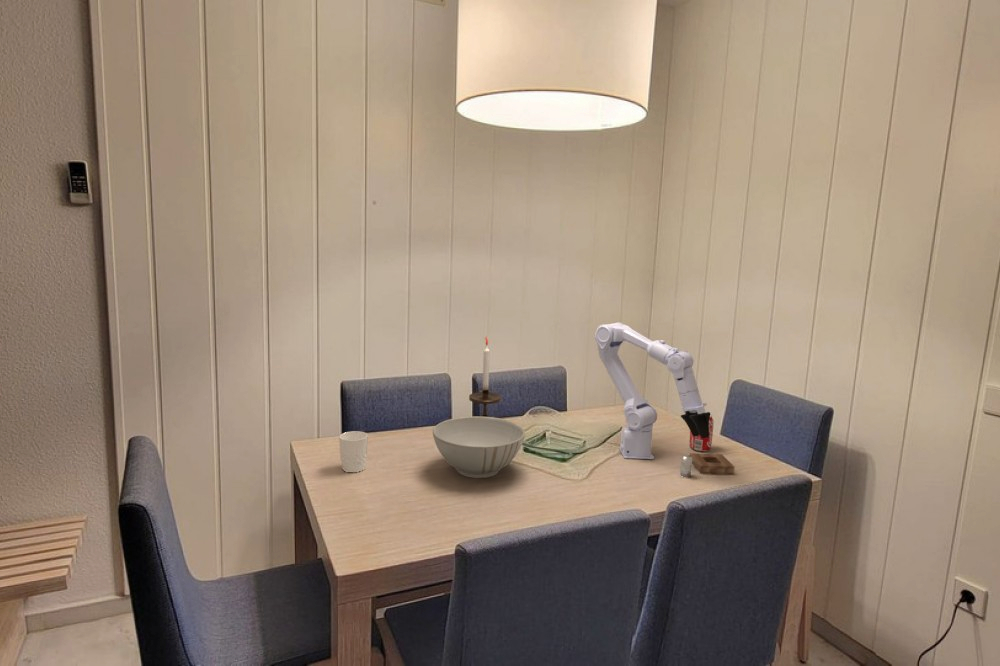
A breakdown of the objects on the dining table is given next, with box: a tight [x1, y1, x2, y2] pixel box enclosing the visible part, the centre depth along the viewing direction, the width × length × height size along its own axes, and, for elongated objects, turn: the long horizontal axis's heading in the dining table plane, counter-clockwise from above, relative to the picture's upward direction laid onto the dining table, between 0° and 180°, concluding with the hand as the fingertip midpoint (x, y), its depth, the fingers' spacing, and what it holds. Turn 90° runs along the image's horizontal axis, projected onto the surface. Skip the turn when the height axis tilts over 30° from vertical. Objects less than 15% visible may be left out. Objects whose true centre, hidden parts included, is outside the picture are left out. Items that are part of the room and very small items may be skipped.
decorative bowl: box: [432, 415, 526, 479], centre depth 171 cm, size 27×27×12 cm
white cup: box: [339, 430, 368, 473], centre depth 169 cm, size 8×8×10 cm
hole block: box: [689, 452, 735, 475], centre depth 179 cm, size 10×10×2 cm
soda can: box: [688, 411, 715, 452], centre depth 194 cm, size 7×7×12 cm
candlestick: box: [468, 335, 502, 417], centre depth 197 cm, size 11×11×35 cm
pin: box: [679, 454, 693, 478], centre depth 172 cm, size 3×3×6 cm
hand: (701, 436), depth 172 cm, fingers open, 7 cm apart
